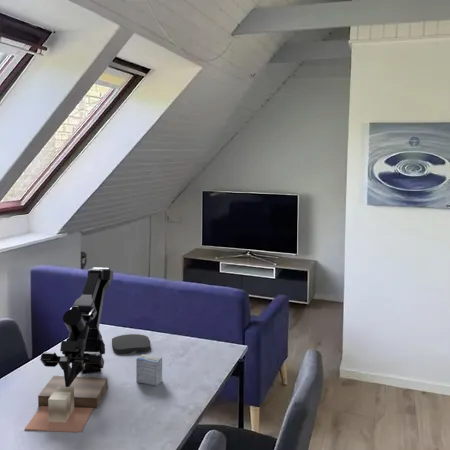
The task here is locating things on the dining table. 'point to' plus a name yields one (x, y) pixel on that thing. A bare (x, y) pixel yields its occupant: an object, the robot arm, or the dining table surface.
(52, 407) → the birch block
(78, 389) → the oak plinth
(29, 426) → the terracotta mat
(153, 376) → the medicine box
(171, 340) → the dining table surface
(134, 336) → the media streaming box
